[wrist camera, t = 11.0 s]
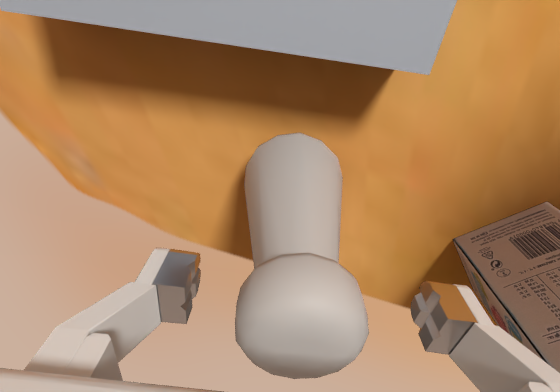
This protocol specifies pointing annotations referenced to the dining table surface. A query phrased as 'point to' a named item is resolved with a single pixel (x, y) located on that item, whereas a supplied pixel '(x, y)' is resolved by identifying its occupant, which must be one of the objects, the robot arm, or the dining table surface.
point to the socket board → (277, 25)
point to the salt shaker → (297, 264)
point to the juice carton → (519, 276)
